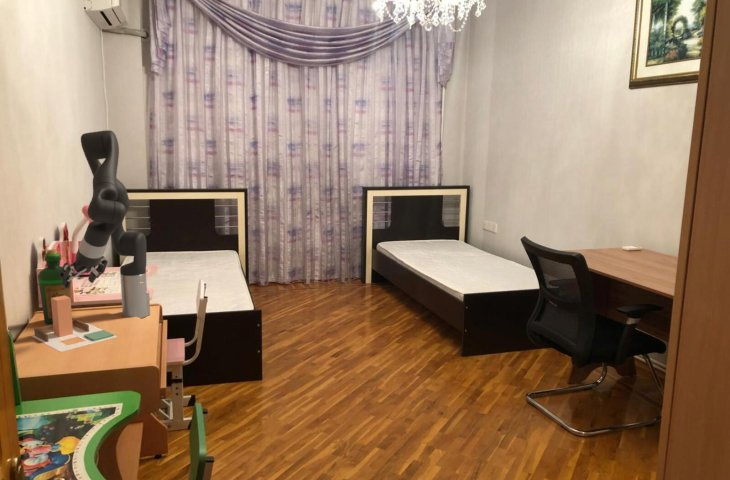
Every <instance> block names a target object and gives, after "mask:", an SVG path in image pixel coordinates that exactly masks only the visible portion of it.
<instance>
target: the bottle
mask: <svg viewBox="0 0 730 480" xmlns="http://www.w3.org/2000/svg"><path fill="white" fill-rule="evenodd" d="M46 251H47V253H45V254H44V261H45V262H46V267H45V268H43V269H42V270H40V271H39V273H38V275H37V279H38V280H37V281H38V287H39V293H40V294H39V295H40V300H41V305H42V306H41V307H42V314H43V315H42V316H43V321H44V324H45V325H48V326H49V325H53V317H52V304H51V298H54V297H59V296H64V295H65V296H67V297H69V298H71V285H70V286H69V288H65V287H64V286H63V284H62V283H63V281H62V279H61V277H60V276H59V274H60V272H61V270H62V267H63V266H61V264H60V263H61V260H62V256H61V253H60V252H58V249H53V248H52V249H48V250H46ZM69 276H71V274H70V275H69Z"/></svg>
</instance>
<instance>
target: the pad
mask: <svg viewBox="0 0 730 480" xmlns="http://www.w3.org/2000/svg"><path fill="white" fill-rule="evenodd" d="M114 335H115V334H114V333H111V332H110V331H108V330H105V329H102V330H101V331H97V332H93V333H89V334H85V335H84V337H86V338H88V339H90V340H92V341H97V340H101V339H105V338H108V337H112V336H114Z"/></svg>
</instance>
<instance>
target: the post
mask: <svg viewBox="0 0 730 480" xmlns="http://www.w3.org/2000/svg"><path fill="white" fill-rule="evenodd" d="M51 304H52V317H53V330H54V335H56V336H58V337H63V336H67V335H71V334H73V325H72V320H73V316H72V315H73V314H72V301H71V298H69V297H67V296H65V295H64V296H59V297H54V298H51Z"/></svg>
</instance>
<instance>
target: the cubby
mask: <svg viewBox="0 0 730 480" xmlns="http://www.w3.org/2000/svg"><path fill="white" fill-rule="evenodd" d="M85 323H86V322H83V321H81V320H79V319H72V325H73V327H75V326H76V327H78V328H80V329H82V330H84V331H87V332H89V325H88V324H89V323H88V324H85ZM33 331H34V335H35V336H36V337H38V338H40V339H42V340H44V341H46V342H49V341H48V334H46V333H50V332H54V330H53V325H49V324H48V325H46V326H41V327H37V328H34V329H33Z"/></svg>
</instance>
